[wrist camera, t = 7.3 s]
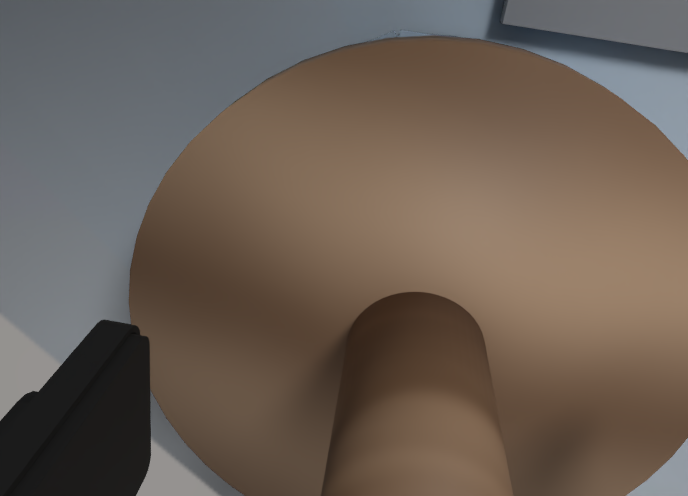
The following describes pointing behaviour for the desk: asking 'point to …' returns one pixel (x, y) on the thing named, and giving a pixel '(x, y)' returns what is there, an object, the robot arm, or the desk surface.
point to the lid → (422, 280)
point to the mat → (607, 20)
